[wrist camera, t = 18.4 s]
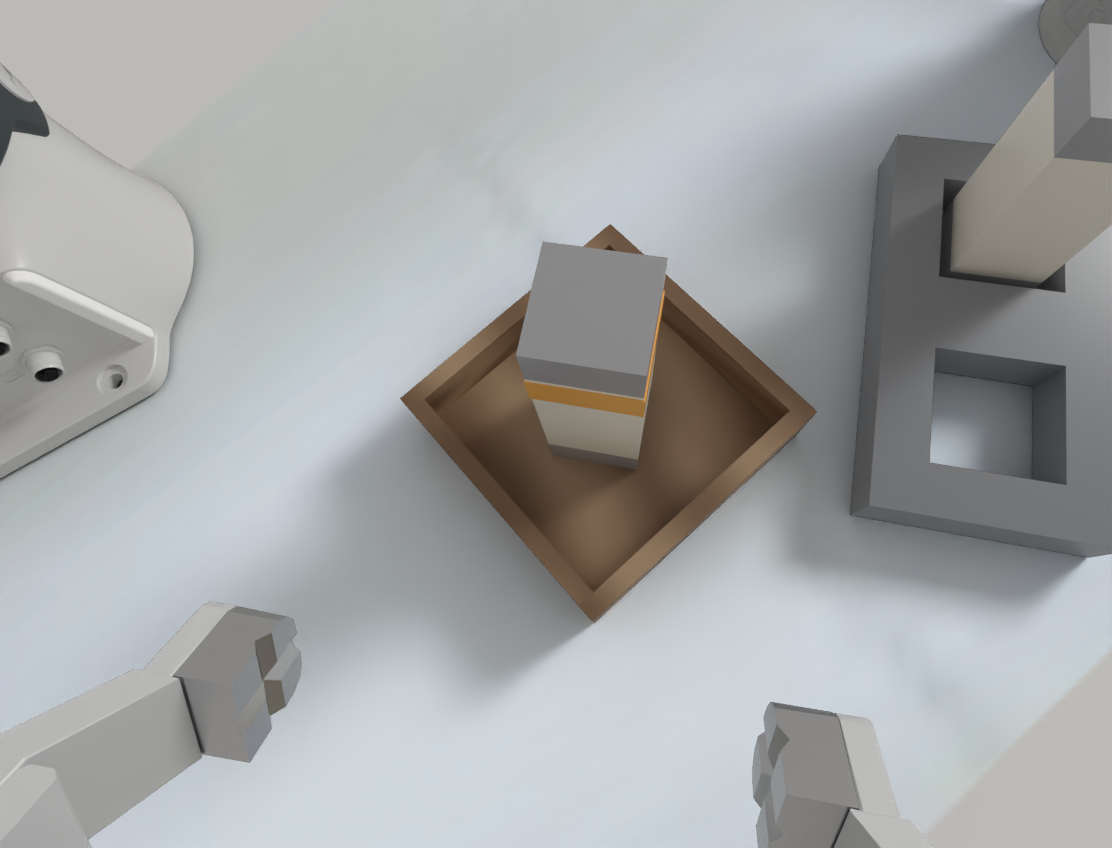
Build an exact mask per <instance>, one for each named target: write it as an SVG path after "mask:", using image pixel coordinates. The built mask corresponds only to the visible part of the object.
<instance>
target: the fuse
mask: <svg viewBox="0 0 1112 848" xmlns="http://www.w3.org/2000/svg"><path fill="white" fill-rule="evenodd" d="M1111 225H1112V25H1110V24H1097V23H1089V24H1088V25H1087V26H1086V27H1085V29H1084V30H1083V31H1082V33H1081V34H1080V35H1079V37H1078V38H1077V39H1076V40H1075V42H1074V43H1073V44H1072V46H1071V47H1070V48H1069V50H1068V51H1067V52H1066V54H1065V55H1064V56H1063V57H1062V59H1061V60H1060V61H1059V63H1058V64H1057V65H1056V67H1055V68H1054V69H1053V70H1052V72H1051V73H1050V74H1049V76H1048V77H1047V78H1046V80H1045V81H1044V82H1043V83H1042V85H1041V86H1040V87H1039V89H1038V90H1037V91H1036V93H1035V94H1034V95H1033V96H1032V98H1031V99H1030V100H1029V102H1028V103H1027V104H1026V106H1025V107H1024V108H1023V110H1022V111H1021V112H1020V113H1019V115H1018V116H1017V117H1016V119H1015V120H1014V121H1013V123H1012V124H1011V125H1010V126H1009V128H1008V129H1007V130H1006V132H1005V133H1004V134H1003V136H1002V137H1001V138H1000V139H999V141H998V142H997V143H996V145H995V146H994V147H993V149H992V150H991V151H990V153H989V154H988V155H987V156H986V158H985V159H984V160H983V162H982V163H981V164H980V166H979V167H978V168H977V169H976V171H975V172H974V173H973V175H972V176H971V177H970V179H969V180H968V181H967V182H966V184H965V185H964V186H963V188H962V189H961V190H960V192H959V193H958V194H957V195H956V197H955V198H954V199H953V201H952V202H951V203H950V205H949V206H948V207H947V209H946V210H945V211H944V212H943V214H942V229H941V248H940V268H939V277H946V278H954V279H961V280H969V281H977V282H985V283H993V284H1001V285H1008V286H1016V287H1024V288H1032V289H1035V288H1036V287H1037V286H1039V285H1040V284H1041V283H1042V282H1043V281H1045V280H1046V279H1047V278H1048V277H1049V276H1051V275H1052V274H1053V273H1054V272H1055V271H1057V270H1058V269H1059V268H1060V267H1061V266H1063V265H1064V264H1065V263H1066V262H1067V261H1069V260H1070V259H1071V258H1072V257H1073V256H1075V255H1076V254H1077V253H1078V252H1079V251H1081V250H1082V249H1083V248H1084V247H1085V246H1087V245H1088V244H1089V243H1090V242H1091V241H1093V240H1094V239H1095V238H1096V237H1097V236H1099V235H1100V234H1101V233H1102V232H1103V231H1105V230H1106V229H1107V228H1108V227H1109V226H1111Z"/></svg>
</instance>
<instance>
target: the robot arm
mask: <svg viewBox="0 0 1112 848" xmlns="http://www.w3.org/2000/svg"><path fill="white" fill-rule="evenodd" d="M193 262H194V245H193V237H192V232H191V228H190V225H189V222H188V220H187V217H186V215H185V213H184V211H183V210H182V208H181V206H180V205H179V203H178V202H177V201H176V200H175V198H174V197H173V196H172V195H171V194H170V193H169V192H168V191H167V190H165V189H164V188H163V187H161V186H160V185H159V184H157V183H155V182H154V181H152V180H150V179H148V178H146V177H143V176H141V175H139V174H137V173H135V172H133V171H131V170H129V169H127V168H126V167H124V166H122V165H120V164H118V163H117V162H115V161H114V160H112V159H110V158H109V157H107V156H105V155H104V154H102V153H101V152H99V151H98V150H96V149H95V148H93V147H92V146H90V145H89V144H87V143H86V142H84V141H83V140H81V139H80V138H78V137H77V136H76V135H74V134H73V133H72V132H70V131H69V130H67V129H66V128H65V127H63V126H62V125H61V124H59V123H58V122H56V121H55V120H54V119H52V118H51V117H50V116H48V115H47V114H46V113H44V112H43V111H42V109H41V108H40V106H39V105H38V103H37V102H36V101H35V100H34V97H33V96H32V94H31V93H30V91H29V90H28V89H27V88H26V87H25V86H24V85H23V84H22V83H21V82H20V81H19V80H18V79H17V78H16V77H15V76H13V74H12V73H11V72H10V71H9V70H8V69H6V68H5V66H3V65H2V64H1V63H0V478H2V477H3V476H5V475H7V474H9V473H11V472H13V471H14V470H16V469H18V468H20V467H22V466H23V465H25V464H27V463H29V462H31V461H32V460H34V459H36V458H38V457H40V456H41V455H43V454H45V453H47V452H49V451H50V450H52V449H54V448H56V447H58V446H60V445H61V444H63V443H65V442H67V441H69V440H70V439H72V438H74V437H76V436H78V435H79V434H81V433H83V432H85V431H87V430H88V429H90V428H92V427H94V426H96V425H97V424H99V423H101V422H103V421H105V420H107V419H108V418H110V417H112V416H114V415H116V414H117V413H119V412H121V411H123V410H125V409H126V408H128V407H130V406H132V405H134V404H135V403H137V402H139V401H141V400H143V399H144V398H146V397H148V396H150V395H152V394H153V393H154V392H156V391H157V390H158V389H159V388H160V387H161V386H162V384H163V382H164V381H165V378H166V375H167V371H168V365H169V351H170V333H171V329H172V326H173V324H174V321H175V319H176V316H177V314H178V312H179V310H180V308H181V305H182V303H183V301H184V299H185V296H186V293H187V290H188V287H189V284H190V280H191V276H192V270H193ZM121 380H123V382H122V384H121V386H120V387H118V388H117V385H118V383H119V382H120V381H121ZM296 633H297V631H296V627H295V622H294V619H293V618H290V617H287V616H282V615H277V614H272V613H267V612H262V611H258V610H253V609H248V608H243V607H238V606H232V605H227V604H222V603H217V602H212V601H211V602H209V603H207V604H205V605H203V606H201V607H200V608H199V609H198V610H197V611H196V612H195V613H194V614H193V616H192V617H191V618H190V619H189V620H188V621H187V622H186V623H185V624H184V625H183V626H182V628H181V629H180V630H179V631H178V632H177V633H176V634H175V635H174V636H173V637H172V638H171V640H170V641H169V642H168V643H167V644H166V645H165V646H164V647H163V648H162V649H161V650H160V651H159V653H158V654H157V655H156V656H155V657H154V658H153V659H152V660H151V661H150V662H149V663H148V665H147V666H146V667H145V668H144V669H143V670H142V671H141V670H132V671H130V672H127V673H125V674H123V675H121V676H119V677H117V678H115V679H113V680H111V681H109V682H107V683H105V684H103V685H100V686H98V687H96V688H94V689H92V690H90V691H88V692H86V693H84V694H82V695H80V696H78V697H76V698H74V699H71V700H69V701H67V702H65V703H63V704H61V705H59V706H57V707H55V708H53V709H51V710H49V711H47V712H44V713H42V714H40V715H38V716H36V717H34V718H32V719H30V720H28V721H26V722H24V723H22V724H20V725H18V726H15V727H13V728H11V729H9V730H7V731H5V732H3V733H1V734H0V848H91V845H90V843H89V841H88V839H90V838H91V837H92V836H94V835H95V834H97V833H98V832H99V831H101V830H102V829H104V828H105V827H106V826H108V825H109V824H110V823H112V822H113V821H115V820H116V819H117V818H119V817H120V816H122V815H123V814H124V813H126V812H127V811H128V810H130V809H131V808H133V807H134V806H135V805H137V804H138V803H139V802H141V801H142V800H144V799H145V798H146V797H148V796H149V795H151V794H152V793H153V792H155V791H156V790H157V789H159V788H160V787H162V786H163V785H164V784H166V783H167V782H169V781H170V780H171V779H173V778H174V777H175V776H177V775H178V774H180V773H181V772H182V771H184V770H185V769H187V768H188V767H189V766H191V765H192V764H193V763H195V762H196V761H198V760H199V759H200V758H202V754H204V755H209V756H215V757H221V758H226V759H232V760H238V761H243V762H249V763H250V762H251V760H252V759H253V757H254V755H255V754H256V752H257V751H258V749H259V748H260V746H261V745H262V743H263V741H264V740H265V738H266V737H267V735H268V734H269V732H270V731H271V729H272V726H271V717H270V716H271V715H272V714H274V713H276V712H277V711H279V710H281V709H282V708H284V707H286V705H287V704H288V702H289V700H290V699H291V697H292V695H293V694H294V692H295V689H296V686H297V683H298V681H299V678H300V674H301V663H302V661H301V655H300V651H299V650H298V649H297V648H296V647H295V645H294V644H293V643H292V642H291V641H292V639H293V638H294V636H295V635H296ZM764 727H765V732H764V733H762V734H761V735H759V736H758V738H757V742H756V746H755V750H754V757H753V766H752V784H753V798H754V799H755V801H756V802H757V803H758V805H759V806H760V808H761V811H760V814H759V818H758V821H757V824H756V831H757V842H758V848H934V847H933V846H932V844H931V843H930V842H929V841H928V840H927V839H926V838H925V837H924V835H923V834H922V833H921V832H920V831H919V830H918V829H917V827H916V826H915V825H914V824H913V823H912V822H911V821H910V820H905V819H901V818H900V816H899V813H898V810H897V806H896V803H895V799H894V796H893V792H892V789H891V785H890V782H889V778H888V775H887V771H886V768H885V764H884V761H883V757H882V754H881V750H880V747H879V744H878V740H877V737H876V733H875V730H874V726H873V724H872V723H871V721H870V720H869V719H867V718H861V717H856V716H850V715H844V714H838V713H833V712H829V711H823V710H817V709H811V708H805V707H799V706H793V705H787V704H781V703H775V702H770V703H769V704H768V706H767V708H766V711H765V714H764Z"/></svg>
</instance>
